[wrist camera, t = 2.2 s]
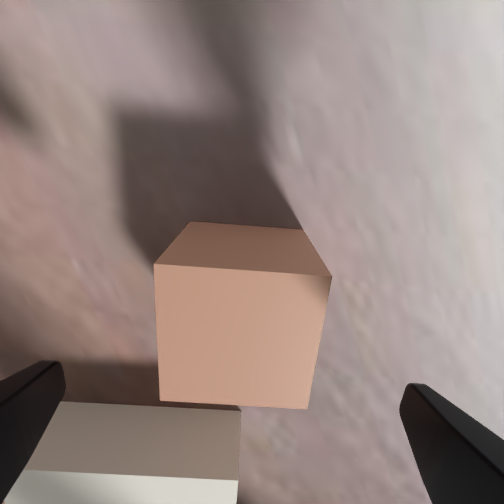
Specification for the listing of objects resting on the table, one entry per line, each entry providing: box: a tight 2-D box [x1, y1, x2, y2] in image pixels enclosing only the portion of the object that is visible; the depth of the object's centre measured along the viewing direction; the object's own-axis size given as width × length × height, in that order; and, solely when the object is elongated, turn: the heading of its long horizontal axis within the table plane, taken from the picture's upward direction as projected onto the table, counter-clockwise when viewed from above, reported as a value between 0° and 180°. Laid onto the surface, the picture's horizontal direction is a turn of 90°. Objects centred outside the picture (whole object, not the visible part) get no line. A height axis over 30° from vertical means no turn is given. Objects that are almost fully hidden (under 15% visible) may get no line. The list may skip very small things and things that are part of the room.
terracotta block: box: [154, 221, 332, 409], centre depth 11 cm, size 5×5×5 cm
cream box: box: [4, 401, 241, 504], centre depth 17 cm, size 11×11×4 cm
